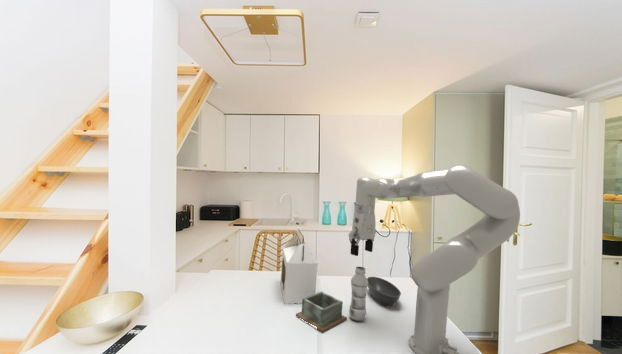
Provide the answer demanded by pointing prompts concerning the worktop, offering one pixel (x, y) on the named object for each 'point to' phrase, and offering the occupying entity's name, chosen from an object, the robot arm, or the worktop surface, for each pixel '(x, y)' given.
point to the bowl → (383, 291)
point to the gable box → (298, 270)
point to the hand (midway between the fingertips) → (361, 252)
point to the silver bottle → (358, 295)
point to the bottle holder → (322, 311)
